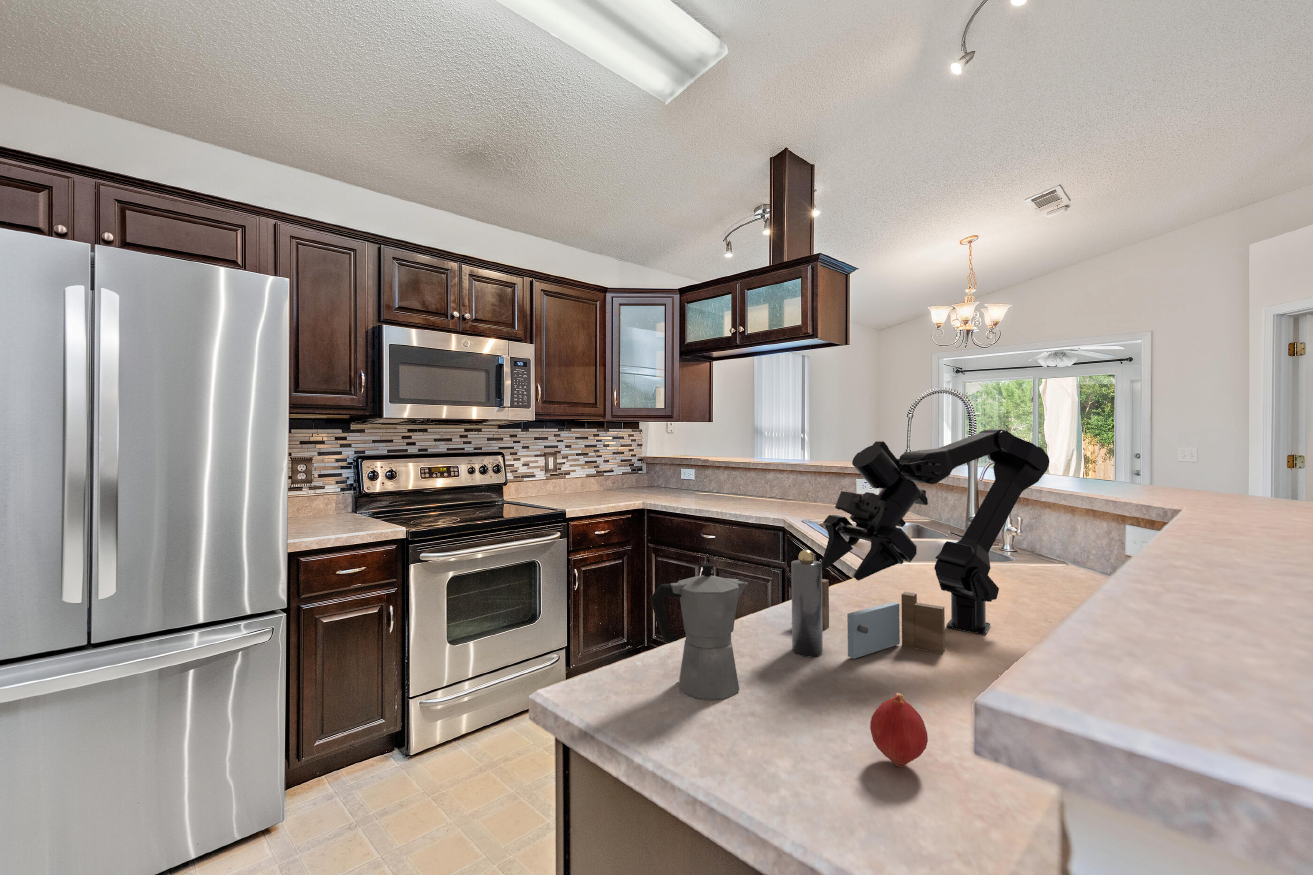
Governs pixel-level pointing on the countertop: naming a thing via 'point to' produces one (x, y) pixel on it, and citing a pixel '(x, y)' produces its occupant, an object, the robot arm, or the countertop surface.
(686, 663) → the coffeepot
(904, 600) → the fence
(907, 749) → the onion
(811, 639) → the grey tall cylinder
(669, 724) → the countertop surface
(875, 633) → the gate
